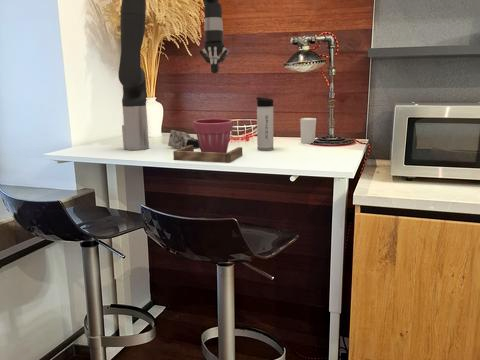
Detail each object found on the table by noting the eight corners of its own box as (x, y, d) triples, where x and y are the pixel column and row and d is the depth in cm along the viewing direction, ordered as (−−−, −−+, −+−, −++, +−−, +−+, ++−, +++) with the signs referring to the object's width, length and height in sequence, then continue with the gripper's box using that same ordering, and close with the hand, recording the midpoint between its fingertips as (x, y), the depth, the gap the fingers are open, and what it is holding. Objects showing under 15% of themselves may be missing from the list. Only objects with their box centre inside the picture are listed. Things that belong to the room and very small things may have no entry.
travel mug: (261, 147, 181) (261, 96, 176) (276, 148, 178) (276, 97, 173) (253, 150, 176) (253, 97, 171) (268, 151, 172) (268, 98, 168)
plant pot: (225, 159, 158) (224, 123, 155) (188, 158, 162) (187, 122, 159) (238, 152, 171) (237, 118, 168) (203, 151, 175) (202, 118, 172)
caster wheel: (202, 152, 187) (190, 153, 178) (180, 145, 191) (166, 145, 182) (206, 137, 185) (193, 136, 176) (183, 130, 190) (170, 129, 181)
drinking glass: (314, 144, 186) (314, 119, 184) (298, 143, 189) (298, 119, 186) (317, 141, 193) (317, 118, 190) (301, 141, 195) (301, 117, 192)
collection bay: (173, 159, 160) (173, 151, 159) (190, 152, 172) (189, 145, 171) (229, 162, 153) (229, 153, 152) (242, 155, 165) (242, 147, 164)
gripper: (195, 30, 183) (196, 73, 187) (225, 28, 179) (226, 73, 183) (202, 31, 190) (204, 73, 194) (232, 29, 186) (233, 73, 190)
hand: (215, 73), depth 189 cm, fingers closed
